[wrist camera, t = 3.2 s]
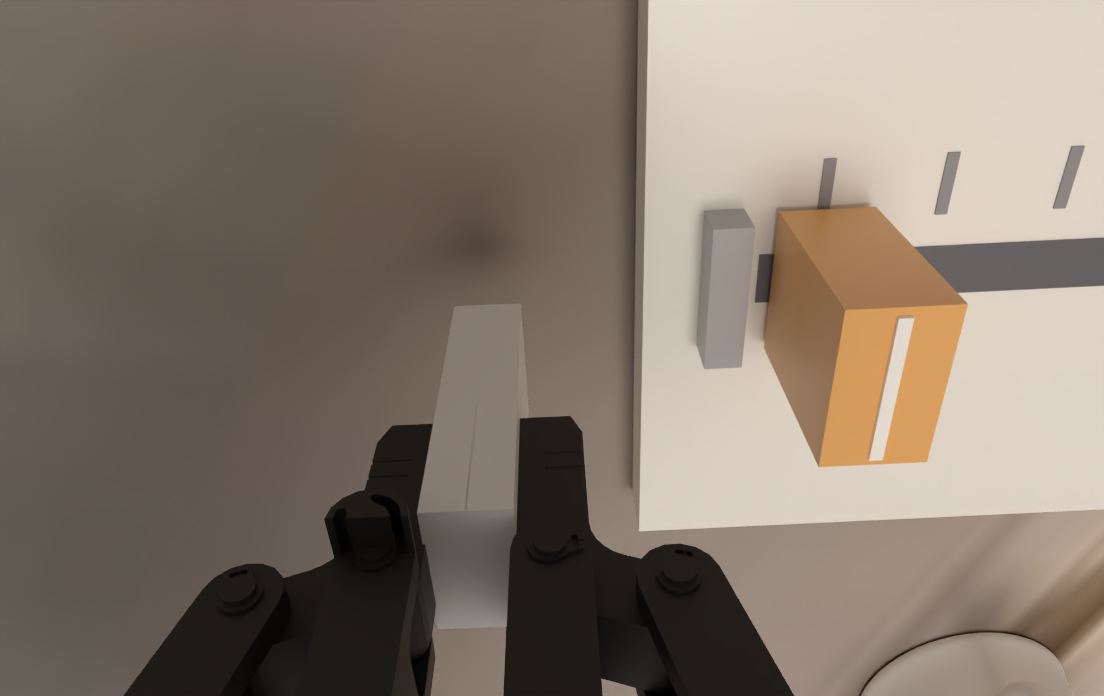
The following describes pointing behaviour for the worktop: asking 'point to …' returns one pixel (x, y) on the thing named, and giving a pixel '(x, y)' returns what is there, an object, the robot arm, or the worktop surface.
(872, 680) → the mug
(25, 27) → the worktop surface
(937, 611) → the worktop surface
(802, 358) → the fader
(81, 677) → the worktop surface
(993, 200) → the console
